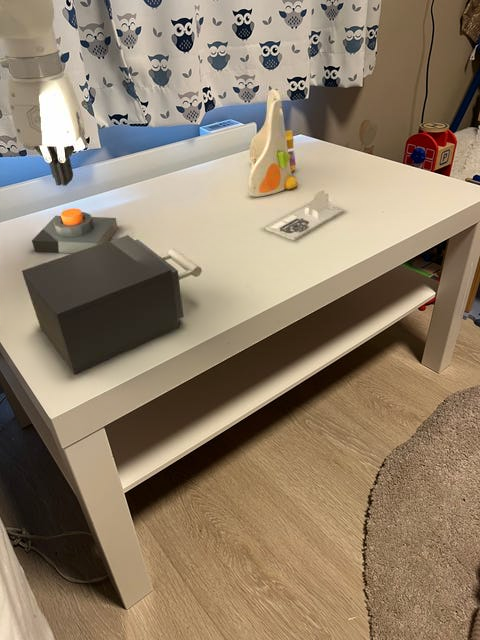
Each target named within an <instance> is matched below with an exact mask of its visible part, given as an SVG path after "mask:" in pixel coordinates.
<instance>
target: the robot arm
mask: <svg viewBox="0 0 480 640" xmlns="http://www.w3.org/2000/svg"><path fill="white" fill-rule="evenodd" d="M54 19H55V7H54V2H53V0H0V40H1V43H2V48H3V50H4V57H1V58H0V66H1V67H2V68H3V69H8V72H9V74H10V76H9V77H7V79H6V85H7V97H8V104H9V110H10V114H11V119H12V124H13V128H14V132H15V135H16V138H17V140H18V142H19V143H20V144H22V146H23V147H24V148H25V149H27V150H32V151H36V152H37V153H39V155H41V156H42V157H43V158H44V161H45V162H46V163H47V164H48V165H49V168H50V172H51V176H52V178H53V179H54V181H55V185H56V186H64V187H65V186H68V184H70V183H71V182H72V180H73V178H74V171H73V167H72V163H71V159H70V158H71V157H72V155H73V154H74V153H75V152H78V151H83V150H85V149H86V148H87V147H88V142H87V139H86V137H85V135H86V134H85V133H86V128H85V127H86V126H85V123H84V119H83V114H82V111H81V106H80V103H79V101H78V97H77V94H76V92H75V89H74V86H73V84H72V81H71V80H70V79H71V78H70V77H69V75H68V73H67V72H64V70H63V65H62V61H61V55H60V52H59V51H60V50H59V47H58V43H57V42H58V41H57V38H56V34H55V29H54Z"/></svg>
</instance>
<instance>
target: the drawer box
mask: <svg viewBox="0 0 480 640" xmlns="http://www.w3.org/2000/svg"><path fill="white" fill-rule="evenodd" d="M135 240H136V239H134V238H132V237H131V236H129V234H126V235H123V236H120V237H117V238H115V239H110V240H109V241H108V242H105V243H102V244H99V245H96V246H93V247H90V248H87V249H84V250H82V251H79V252H76V253H69V254H67V255H64V256H61V257H58V258H55V259H52V260H48V261H46V262H43V263H41V264H37V265H33V266H31V267H28V268H26V269H22V270H21V273H22V276H23V279H24V283H25V286H26V288H27V292H28V294H29V297H30V301H31V304H32V306H33V310H34V312H35V316H36V319H37V323H38V324H39V328H40V329H41V331H42V332H43V334H44V335H45V337H47V339H48V341H49V343H51V345H52V346H53V347H54V348H55V350H56V351H57V352H58V355H60V357H61V358H62V359H63V361H64V363H65V364H66V365H67V366H68V368H69V369H70V370H71V372H72V373H73V375H77V374H79V373H82V372H84V371H86V370H89V369H91V368H93V367H95V366H97V365H99V364H102V363H104V362H106V361H108V360H111V359H112V358H115V357H118V356H119V355H122V354H124V353H126V352H128V351H130V350H133V349H135V348H137V347H140V346H142V345H143V344H146V343H148V342H150V341H152V340H154V339H158V338H159V337H161V336H164V335H166V334H168V333H170V332H172V331H175V330H176V329H179V328H180V323H179V320H178V315H177V307H176V300H175V292H174V284H173V276H172V270H171V269H170V268H169V267H168V266H166V265H165V264H164V263H163V262H161V261H160V260H159V259H157V258H156V257H155V256H154V255H152V254H151V253H150V252H149V251H147V250H146V249H145V248H144V247H142V246H141V245H140V244H138V243H137V242H136V241H135Z"/></svg>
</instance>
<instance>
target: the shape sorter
mask: <svg viewBox="0 0 480 640" xmlns="http://www.w3.org/2000/svg"><path fill="white" fill-rule="evenodd" d="M281 97H282V96H281V94H280V92H279V91H278V90H277V89H276V88H272V89H270V90H269V91H268V95H267V101H266V116H265V121H264V124H263V125H262V127H261V129H259V131H258V132H257V133H256V134H255V135H254V136H253V138H252V140H251V142H250V145H249V151H248V153H249V155H248V157H249V160H250V172H249V175H248V182H247V183H248V184H247V187H248V193H249V194H250V196H252V197H263V196H269V195H274V194H277V193H280V192H282V191H284V190H290V189H293V188H295V187H297V186H298V185H299V182H298V180H297V178H296V177H295V176H293V175H292V172H294V171H295V170H296V165H297V163H296V157H295V150H292V149H294V140H295V139H294V135H293V134H294V133H293V130H286V126H285V118H284V112H283V109H282V108H283V105H282V98H281ZM289 149H291V150H290V151H289Z"/></svg>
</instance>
